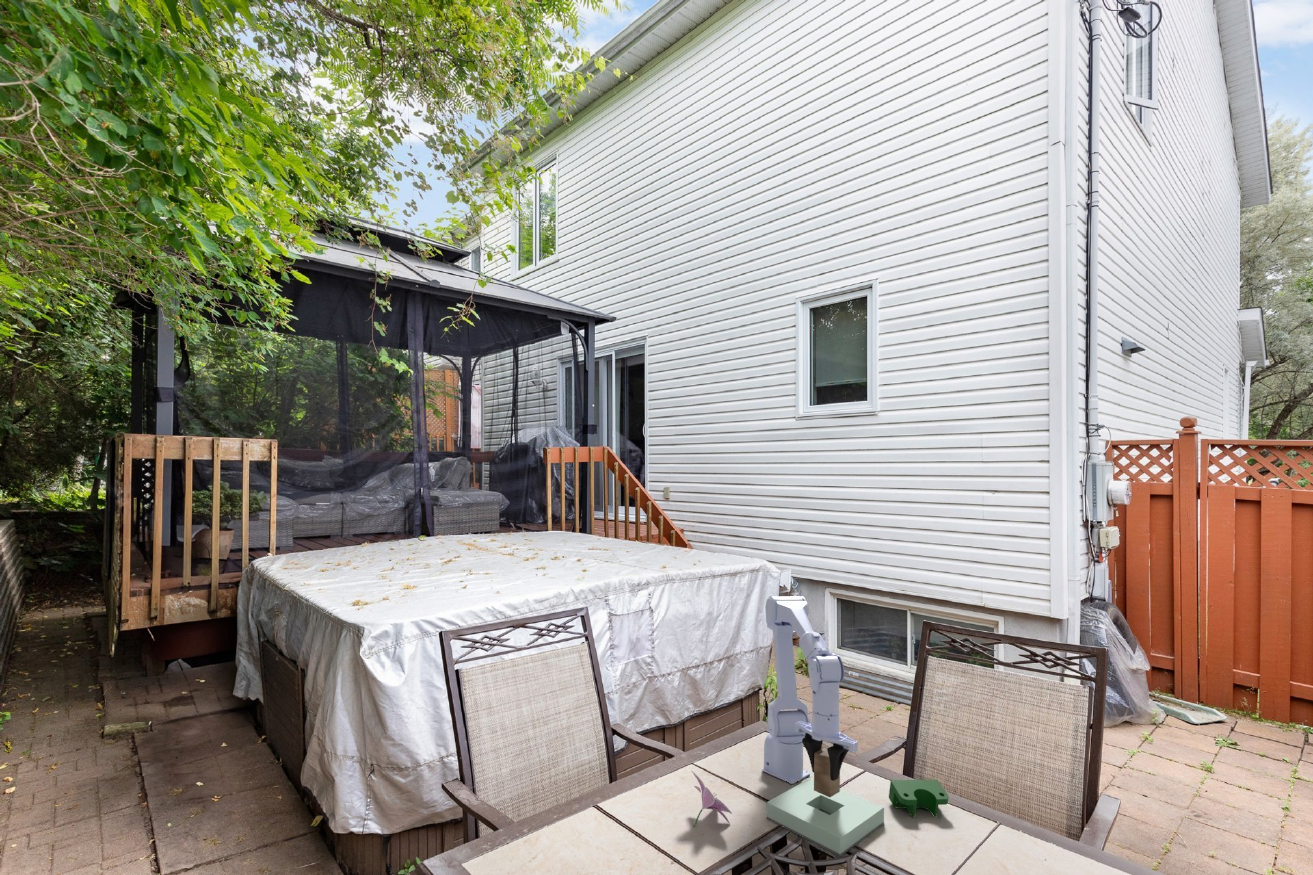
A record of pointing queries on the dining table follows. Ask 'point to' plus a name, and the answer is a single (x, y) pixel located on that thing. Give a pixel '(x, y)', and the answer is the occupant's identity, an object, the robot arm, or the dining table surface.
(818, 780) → the post
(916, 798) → the clamp
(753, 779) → the dining table surface
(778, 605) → the robot arm
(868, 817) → the well block
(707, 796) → the lily
